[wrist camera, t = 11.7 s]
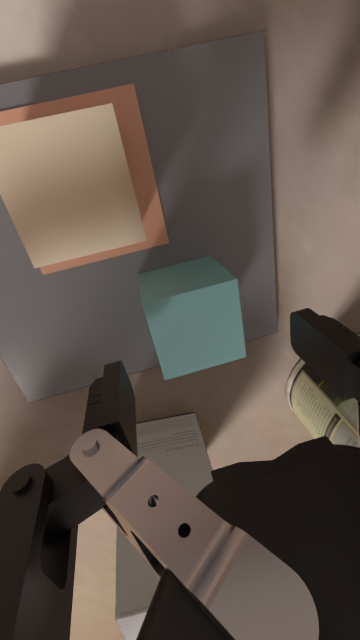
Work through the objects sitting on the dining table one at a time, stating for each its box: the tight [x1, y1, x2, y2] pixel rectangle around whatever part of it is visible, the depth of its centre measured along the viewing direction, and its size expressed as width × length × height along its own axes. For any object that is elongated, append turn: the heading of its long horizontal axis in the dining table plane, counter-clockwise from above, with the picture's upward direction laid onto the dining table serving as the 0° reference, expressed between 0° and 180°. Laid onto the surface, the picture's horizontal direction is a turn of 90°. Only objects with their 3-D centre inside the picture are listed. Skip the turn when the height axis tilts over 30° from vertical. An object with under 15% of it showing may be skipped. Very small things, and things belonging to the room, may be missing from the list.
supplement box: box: [115, 413, 213, 640], centre depth 22 cm, size 7×7×13 cm
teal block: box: [137, 256, 246, 380], centre depth 17 cm, size 5×5×5 cm
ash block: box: [0, 103, 147, 268], centre depth 13 cm, size 5×5×5 cm
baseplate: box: [0, 30, 278, 403], centre depth 18 cm, size 20×18×1 cm
